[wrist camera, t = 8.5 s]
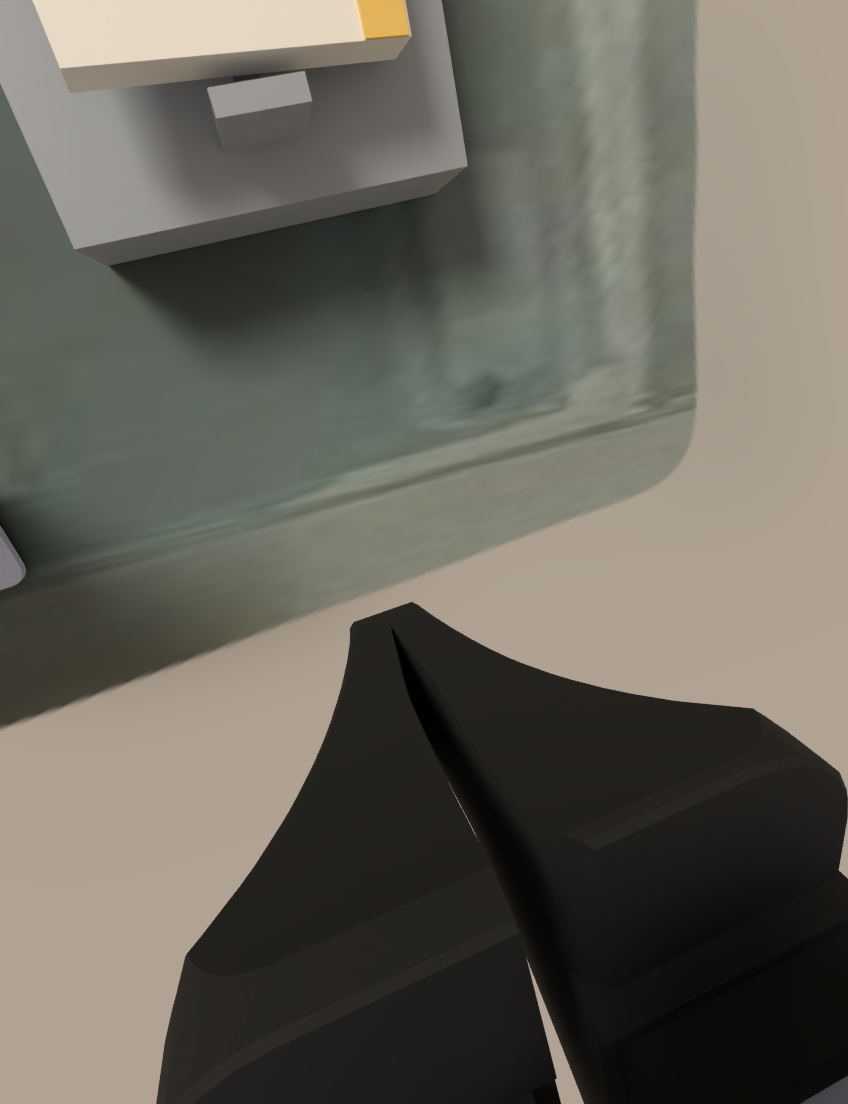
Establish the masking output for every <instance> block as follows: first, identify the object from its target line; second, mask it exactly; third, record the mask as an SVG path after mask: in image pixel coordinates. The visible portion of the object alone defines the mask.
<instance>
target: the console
mask: <svg viewBox="0 0 848 1104" xmlns="http://www.w3.org/2000/svg"><path fill="white" fill-rule="evenodd" d="M405 2H406V7H407V13H408V18H409V24H410V29H411V35H412V37H411V38H410V39H409V41H408V42H407V44H406V45H405V46H404V48H403V49H402V51H401V52H400V53H399V55H398V56H397V58H396V59H394V60H384V61H375V62H365V63H355V64H346V65H336V66H327V67H317V68H307V69H298V70H288V71H279V72H269V73H259V74H250V75H240V76H231V77H221V78H211V79H202V80H192V81H183V82H173V83H163V84H154V85H144V86H134V87H125V88H115V89H106V90H96V91H86V92H77V93H70V92H69V89H68V87H67V84H66V82H65V80H64V77H63V75H62V72H61V70H60V67H59V65H58V62H57V60H56V57H55V55H54V52H53V50H52V47H51V45H50V42H49V40H48V38H47V35H46V33H45V30H44V28H43V25H42V23H41V20H40V18H39V15H38V13H37V10H36V8H35V5H34V3H33V0H0V84H1V86H2V88H3V90H4V93H5V95H6V97H7V99H8V102H9V104H10V106H11V108H12V110H13V113H14V115H15V117H16V119H17V122H18V124H19V126H20V128H21V131H22V133H23V135H24V137H25V140H26V142H27V144H28V146H29V149H30V151H31V153H32V155H33V158H34V160H35V162H36V164H37V166H38V169H39V171H40V173H41V175H42V178H43V180H44V182H45V184H46V187H47V189H48V191H49V193H50V196H51V198H52V200H53V202H54V205H55V207H56V209H57V211H58V214H59V216H60V218H61V220H62V222H63V225H64V227H65V229H66V231H67V234H68V236H69V238H70V240H71V243H72V245H73V247H74V249H75V250H77V251H79V252H81V253H83V254H85V255H87V256H89V257H91V258H93V259H95V260H97V261H99V262H101V263H103V264H105V265H107V266H110V265H114V264H119V263H124V262H128V261H133V260H137V259H142V258H146V257H151V256H156V255H160V254H165V253H169V252H174V251H178V250H183V249H188V248H192V247H197V246H201V245H206V244H210V243H215V242H219V241H224V240H229V239H233V238H238V237H242V236H247V235H251V234H256V233H261V232H265V231H270V230H274V229H279V228H283V227H288V226H293V225H297V224H302V223H306V222H311V221H315V220H320V219H324V218H329V217H334V216H338V215H343V214H347V213H352V212H356V211H361V210H366V209H370V208H375V207H379V206H384V205H388V204H393V203H398V202H402V201H407V200H411V199H416V198H420V197H425V196H429V195H434V194H436V193H437V192H438V191H439V190H441V189H442V188H443V187H444V186H445V185H446V184H448V183H449V182H450V181H451V180H452V179H453V178H454V177H456V176H457V175H458V174H459V173H460V172H461V171H463V170H464V169H465V168H466V167H467V166H468V164H467V158H466V151H465V145H464V139H463V132H462V126H461V120H460V113H459V107H458V101H457V94H456V88H455V82H454V75H453V69H452V63H451V56H450V50H449V44H448V37H447V31H446V25H445V19H444V12H443V6H442V0H405Z"/></svg>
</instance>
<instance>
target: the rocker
mask: <svg viewBox="0 0 848 1104" xmlns="http://www.w3.org/2000/svg"><path fill="white" fill-rule="evenodd" d="M33 3H34V5H35V8H36V10H37V13H38V15H39V18H40V20H41V23H42V25H43V28H44V30H45V33H46V35H47V38H48V40H49V42H50V45H51V47H52V50H53V52H54V55H55V57H56V60H57V62H58V65H59V67H60V70H61V72H62V75H63V77H64V80H65V82H66V84H67V87H68V89H69V92H70V93H77V92H86V91H96V90H106V89H115V88H125V87H134V86H144V85H154V84H163V83H173V82H183V81H192V80H202V79H211V78H221V77H231V76H240V75H250V74H259V73H269V72H279V71H288V70H298V69H307V68H317V67H327V66H336V65H346V64H355V63H365V62H375V61H384V60H394V59H396V58H397V56H398V55H399V53H400V52H401V51H402V49H403V48H404V46H405V45H406V44H407V42H408V41H409V39H410V38H411V37H412V35H411V29H410V24H409V18H408V13H407V7H406V2H405V0H33Z"/></svg>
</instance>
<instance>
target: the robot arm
mask: <svg viewBox="0 0 848 1104" xmlns="http://www.w3.org/2000/svg"><path fill="white" fill-rule="evenodd" d="M25 575H26V567H25V565H24V563H23V561H22V560H21V558H20V556H19V555H18V553H17V552H16V550H15V548H14V547H13V545H12V544H11V542H10V540H9V539H8V537H7V535H6V534H5V532H4V531H3V529H2V527H1V526H0V590H2V589H6V588H9V587H12V586H14V585H16V584H18V583H19V582H20V581H21V580H22V579H23V578H24V577H25ZM449 784H450V785H449ZM450 786H451V787H450ZM451 788H452V789H451ZM452 790H453V791H452ZM453 792H454V793H455V795H456V797H457V799H458V801H459V803H460V805H461V807H462V808H461V807H460V805H459V803H458V801H457V799H456V797H455V795H454V793H453ZM462 809H463V810H464V812H463V810H462ZM847 809H848V797H847V789H846V787H845V785H844V782H843V780H842V777H841V775H840V773H839V772H838V771H837V770H836V769H835V768H833V767H832V766H831V765H830V764H828V763H827V762H826V761H825V760H823V759H822V758H821V757H820V756H818V755H817V754H816V753H814V752H813V751H812V750H810V749H809V748H808V747H807V746H805V745H804V744H803V743H801V742H800V741H799V740H798V739H796V738H795V737H794V736H792V735H791V734H790V733H788V732H787V731H786V730H784V729H783V728H781V727H780V726H778V725H777V724H775V723H774V722H772V721H771V720H770V719H768V718H767V717H765V716H764V715H762V714H761V713H759V712H757V711H756V710H754V709H752V708H742V707H731V706H720V705H710V704H700V703H690V702H680V701H672V700H666V699H660V698H654V697H647V696H641V695H635V694H630V693H625V692H619V691H615V690H610V689H605V688H601V687H597V686H594V685H590V684H586V683H582V682H578V681H574V680H570V679H567V678H564V677H560V676H557V675H554V674H550V673H548V672H545V671H542V670H539V669H536V668H534V667H531V666H528V665H525V664H523V663H520V662H517V661H515V660H513V659H510V658H508V657H505V656H504V655H501V654H499V653H497V652H495V651H493V650H491V649H489V648H487V647H485V646H483V645H481V644H479V643H477V642H476V641H474V640H472V639H470V638H468V637H467V636H465V635H463V634H461V633H460V632H458V631H456V630H454V629H453V628H451V627H450V626H448V625H446V624H445V623H443V622H442V621H440V620H439V619H437V618H435V617H434V616H432V615H431V614H430V613H428V612H427V611H425V610H424V609H423V608H421V607H420V606H419V605H417V604H415V603H413V602H410V603H408V604H404V605H402V606H399V607H396V608H393V609H390V610H387V611H384V612H382V613H379V614H376V615H373V616H370V617H367V618H364V619H362V620H359V621H356V622H354V623H353V624H352V626H351V628H350V646H349V653H348V660H347V665H346V669H345V674H344V679H343V683H342V687H341V691H340V694H339V697H338V701H337V704H336V707H335V710H334V713H333V716H332V720H331V723H330V725H329V728H328V731H327V733H326V736H325V739H324V741H323V743H322V746H321V748H320V751H319V753H318V755H317V757H316V760H315V762H314V764H313V766H312V768H311V770H310V772H309V774H308V776H307V778H306V780H305V782H304V784H303V786H302V788H301V790H300V792H299V794H298V796H297V798H296V800H295V802H294V804H293V805H292V807H291V809H290V811H289V812H288V814H287V816H286V817H285V819H284V821H283V822H282V824H281V826H280V827H279V829H278V830H277V832H276V834H275V835H274V837H273V838H272V840H271V841H270V843H269V844H268V846H267V848H266V849H265V851H264V852H263V854H262V855H261V857H260V859H259V860H258V862H257V863H256V865H255V866H254V868H253V869H252V871H251V872H250V873H249V875H248V876H247V877H246V879H245V880H244V882H243V883H242V884H241V886H240V887H239V888H238V890H237V891H236V892H235V893H234V895H233V896H232V897H231V899H230V900H229V901H228V902H227V904H226V905H225V906H224V908H223V909H222V910H221V912H220V913H219V914H218V915H217V917H216V918H215V920H213V922H212V923H211V924H210V926H209V927H208V928H207V930H206V931H205V932H204V933H203V935H202V936H201V937H200V939H199V940H198V941H197V942H196V943H195V945H194V946H193V947H192V948H191V949H190V951H189V952H188V953H187V955H186V957H185V960H184V965H183V969H182V973H181V977H180V981H179V985H178V990H177V994H176V998H175V1001H174V1005H173V1009H172V1013H171V1018H170V1022H169V1026H168V1031H167V1035H166V1040H165V1046H164V1053H163V1060H162V1067H161V1074H160V1081H159V1089H158V1096H157V1103H156V1104H561V1102H560V1098H559V1094H558V1090H557V1086H556V1082H555V1079H556V1078H557V1077H556V1073H555V1069H554V1066H553V1061H552V1057H551V1053H550V1049H549V1046H548V1042H547V1038H546V1034H545V1030H544V1026H543V1022H542V1018H541V1014H540V1010H539V1006H538V1002H537V998H536V994H535V990H534V986H533V982H532V979H531V974H530V970H529V967H528V963H527V960H528V962H529V965H530V968H531V970H532V973H533V975H534V978H535V980H536V983H537V985H538V987H539V990H540V993H541V995H542V998H543V1000H544V1002H545V1005H546V1007H547V1010H548V1013H549V1015H550V1018H551V1020H552V1023H553V1025H554V1028H555V1030H556V1033H557V1035H558V1038H559V1040H560V1043H561V1046H562V1048H563V1051H564V1053H565V1056H566V1058H567V1061H568V1063H569V1066H570V1069H571V1071H572V1074H573V1076H574V1079H575V1081H576V1084H577V1086H578V1089H579V1091H580V1094H581V1097H582V1099H583V1102H584V1104H848V878H846V877H845V876H844V875H843V874H842V873H841V872H840V871H839V870H838V869H839V864H840V858H841V852H842V847H843V841H844V835H845V828H846V823H847V814H848V813H847V812H848V811H847ZM464 813H465V814H466V816H467V818H468V820H469V822H470V824H471V826H472V828H473V830H474V832H475V834H476V836H475V834H474V832H473V830H472V828H471V826H470V824H469V822H468V820H467V818H466V816H465V814H464ZM476 837H477V838H476ZM477 839H478V840H477ZM526 958H527V959H526Z"/></svg>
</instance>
